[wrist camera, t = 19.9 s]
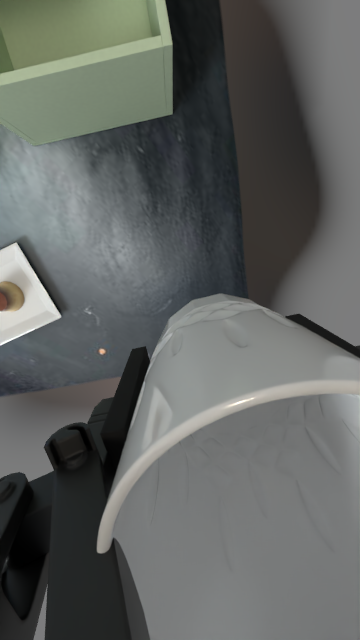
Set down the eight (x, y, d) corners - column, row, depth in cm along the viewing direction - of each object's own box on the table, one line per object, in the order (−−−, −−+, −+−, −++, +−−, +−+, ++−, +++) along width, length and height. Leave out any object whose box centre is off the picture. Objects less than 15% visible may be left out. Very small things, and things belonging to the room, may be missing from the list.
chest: (172, 114, 34) (172, 44, 22) (34, 146, 35) (-42, 95, 23) (143, -48, 30) (123, -250, 17) (-15, -8, 30) (-143, -175, 18)
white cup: (279, 265, 13) (544, 329, 4) (296, 397, 16) (488, 645, 6) (129, 301, 14) (28, 442, 4) (166, 425, 16) (156, 701, 6)
